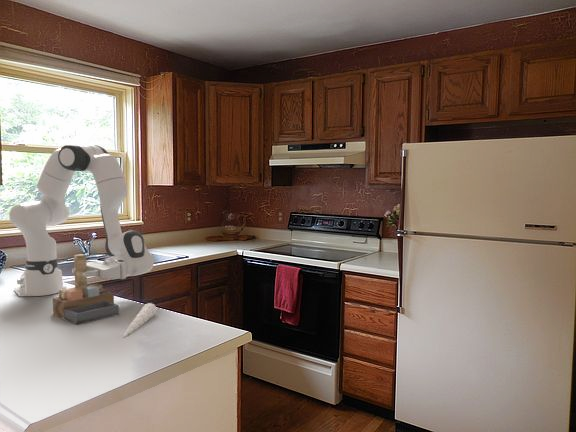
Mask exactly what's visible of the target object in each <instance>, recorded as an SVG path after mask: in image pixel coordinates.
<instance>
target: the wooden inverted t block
mask: <svg viewBox="0 0 576 432" xmlns="http://www.w3.org/2000/svg"><path fill="white" fill-rule="evenodd" d="M86 262H87V254H83V253H80V254H74V255H73V263H74V266H73V267H74V268H75V274H74V287H69V288H66V289H63V290H59V293H58V297H60V298H63V299H66V290H71V289H77V288H78V289H81V290H83V287H88V286H97V287H99V292H102V289H103V284H100V283H92V284H88V277H84V276H83V272H86V271H87V266H86ZM74 268H73V269H74Z"/></svg>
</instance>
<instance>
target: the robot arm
mask: <svg viewBox="0 0 576 432" xmlns="http://www.w3.org/2000/svg"><path fill="white" fill-rule="evenodd" d="M75 172H84V173H85V172H86V173H87V172H90V173H91V175H92V176H93V178H94V181H95V182H94V183H95V185H96V189H97V191H98V192H97V193H98V197H99V205H100V214H101V218H102V224H103V228H104V233H105V246H104V247H105V251H106V254H107V255H108V257H106V258H105V260H104V261H88V262H87V261H86V266H87V271H86V272H83V276H84V277H87V278H88V277H89V278H90V277H92V278H93V277H95V278H100V279H103V280H125V279H127V277H129V276H130V277H135V276H139V275H143V274H147V273H149V272H150V271H151V270H152V269H153V267H154V263H155V259H154V256H153V253H151V252H150V251H149V250H148V249H147V246H146V244H145V239H144V236H143V234H142V233H140V232H139V231H137V230H133V229H132V230H128V231H124V232H122V228H121V222H120V218H119V210H120V207H121V205H122V203H124V201H125V199H126V198H127V195H128V185H127V181H126V178H125V175H124V172H123V170H122V167H121V165H120V163H119V161H118V159H117V158H116V157H115V156H114V155H112V154H109V152H108V150H107V149H105V148H104V147H102V146H99V145H97V144H96V145H95V144H94V145H93V144H89V143H68V144H65V145H62V146H61V148H58V149H57V148H56V149H55V150H53V152H52V153H51V154H50V156H49V158H48V159H47V161H46V163H45V165H44V167H43V170H42V171H41V174H40V176H39V179H38V181H37V183H36V188H37V189H38V191H39V192H40V194H41V197H40V200H38V201H24V202H21V203H17V204H15V205H13V206H12V207H11V208H10V211H9V221H10V222H11V224H12V225H13V226H14V227H15V228H17V229H18V230H19V231H20V233H21V234H22V236H23V239H24V242H25V246H26V247H25V248H26V261H25V270H24V272H23V273H22V274H21V276H20V277H19V278H18V279H16V282H17V285H20V286H17V287H14V289H13V290H14V292H15V293H16V295H17V297H42V296H43V297H44V296H50V295H53V294H59V290H63V289H67V286H66V285H64V282H63V280H64V279H63V272H62V270H61V269H59V259H58V257H57V256H58V255H57V242H56V240H55V238H54V237H52V236H50V234H49V233H48V231H47V227H54V226H58V225H61V224H63V223H65V222H66V221H67V220H68V218H69V217H70V216H69V214H70V212H69V208H68V206H67V204H66V202H65V201H66V199H65V198H66V194H67V192H68V189H69V186H70V184H71V182H72V179H73V177H74V175H75ZM71 274H73V275H75V268H72V269H71Z"/></svg>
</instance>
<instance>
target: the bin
mask: <svg viewBox="0 0 576 432" xmlns="http://www.w3.org/2000/svg"><path fill="white" fill-rule="evenodd" d="M64 313H65V319H64V320H65V321H67V322H70V323H72V324H74V325H76V326H77V325H83V324H87V323H89V322H90V323H91V322H95V321H98V320H103V319H107V318H111V317H112V318H113V317H115V316H119V315H120V304H118V303H117V304H116V303H115V302H114V303H111V302H109V301H103V302H98V303H93V304H89V305H84V306H79V307H74V308H69V309H65V310H64Z"/></svg>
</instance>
